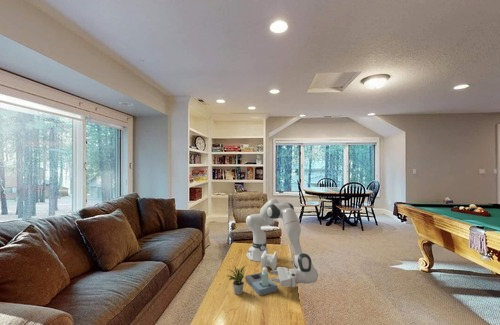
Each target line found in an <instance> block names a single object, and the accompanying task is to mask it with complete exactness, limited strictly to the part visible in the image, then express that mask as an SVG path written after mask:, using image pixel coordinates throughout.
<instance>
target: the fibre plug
mask: <svg viewBox="0 0 500 325" xmlns="http://www.w3.org/2000/svg"><path fill="white" fill-rule="evenodd" d="M261 272H262V287H263V288H264V287H268V278H269V272H268V267H267V268H266V267H264V268H263V270H262V271H261Z"/></svg>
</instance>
